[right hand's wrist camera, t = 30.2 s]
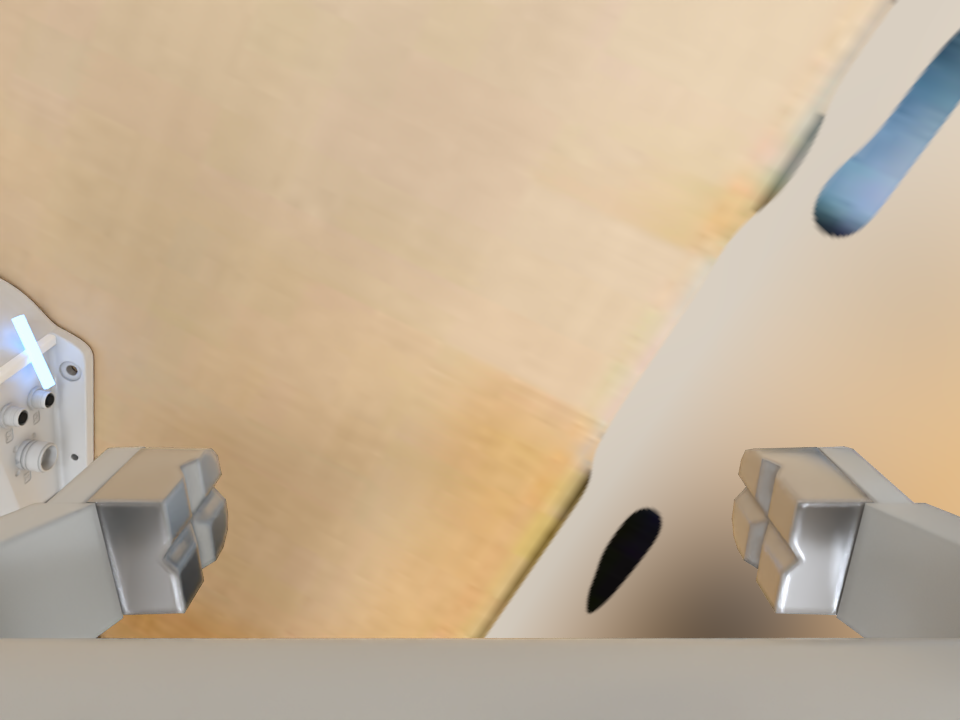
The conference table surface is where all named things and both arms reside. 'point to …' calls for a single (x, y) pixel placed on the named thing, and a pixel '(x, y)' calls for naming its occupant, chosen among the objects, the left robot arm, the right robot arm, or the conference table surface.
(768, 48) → the conference table surface
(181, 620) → the conference table surface
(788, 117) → the conference table surface
